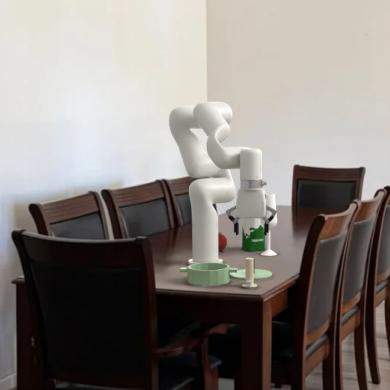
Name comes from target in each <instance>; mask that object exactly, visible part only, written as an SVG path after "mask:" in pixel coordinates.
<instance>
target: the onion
mask: <svg viewBox="0 0 390 390" xmlns="http://www.w3.org/2000/svg"><path fill="white" fill-rule="evenodd" d="M227 245H228V239H227V237H226V235H224V234H223V233H222V231H218V252H222V251H223V250H224V249H225V248H226V247H227Z"/></svg>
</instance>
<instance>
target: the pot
mask: <svg viewBox="0 0 390 390" xmlns="http://www.w3.org/2000/svg"><path fill="white" fill-rule="evenodd" d="M238 270H239V268H238V267H230V265H229V264H227V263H223V262H222V263H197V264H192V265H189V264H188V266H187V267H180V268H179V273H187V283H188V284H190V285H193V286H202V287H211V286H212V287H213V286H214V287H215V286H221V285H225V284H229V282H230V280H231V279H230V277H231V276H230V273H231V272H237V271H238Z"/></svg>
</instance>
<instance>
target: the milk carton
mask: <svg viewBox="0 0 390 390" xmlns="http://www.w3.org/2000/svg"><path fill="white" fill-rule="evenodd" d="M260 220H261V218H241V237H242V238H241V239H242V240H241V249H242V250H244V251H247V252H258V251H266V236H265V235H264V227H263V226H262V224H261V223H260Z"/></svg>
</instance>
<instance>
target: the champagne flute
mask: <svg viewBox="0 0 390 390" xmlns="http://www.w3.org/2000/svg"><path fill="white" fill-rule="evenodd" d="M265 194H266V205H267V206H269V207H271V208H273V209H275V210H276V211H277V203H276V202H277V201H276V193H273V192H271V193H270V192H268V193H267V192H265ZM271 215H272V212H270V211H268V210H267V214H266V217H267V218H269V217H270V216H271ZM260 223H261V224H262V226H263V227H264V224H265V222H264V220H263V219H262V218H261V220H260ZM277 224H278V214H277V213H276V215H275V216H274V218H273V219H272V220H271V221H270V222H269V233H267V235H266V239H267V240H266V243H267V244H266V247H267V248H266V249H265V250H263V252H261V253H260V256H266V257H271V256H272V257H273V256H277V255H278V253H276V252H275V251H273V250H272V249H271V230H272V229H274V228H275V227H276V226H277Z"/></svg>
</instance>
